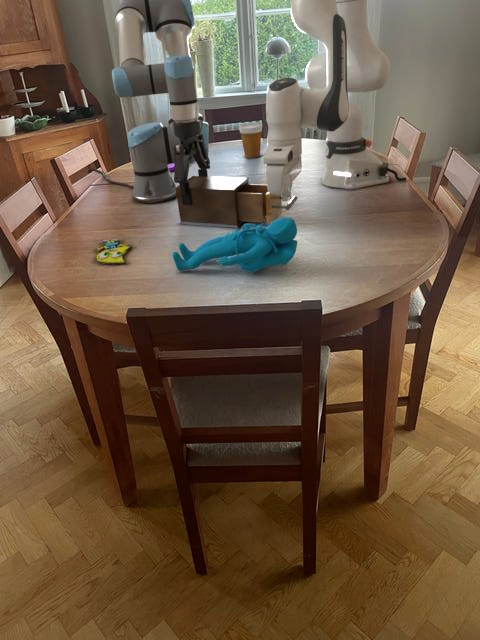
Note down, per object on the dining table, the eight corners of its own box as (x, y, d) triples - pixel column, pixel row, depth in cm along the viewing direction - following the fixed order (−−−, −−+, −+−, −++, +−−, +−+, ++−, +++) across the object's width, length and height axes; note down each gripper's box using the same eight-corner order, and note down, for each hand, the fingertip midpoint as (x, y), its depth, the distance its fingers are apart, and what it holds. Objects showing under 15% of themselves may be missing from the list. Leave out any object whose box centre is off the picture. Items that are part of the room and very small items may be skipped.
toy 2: (183, 229, 122) (297, 202, 112) (198, 266, 128) (308, 242, 117) (161, 259, 109) (288, 230, 99) (178, 298, 114) (301, 275, 104)
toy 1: (135, 237, 135) (125, 260, 122) (135, 240, 135) (125, 263, 123) (99, 239, 135) (85, 263, 122) (100, 242, 135) (86, 266, 123)
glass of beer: (264, 157, 198) (262, 127, 191) (241, 159, 198) (238, 129, 192) (263, 152, 206) (261, 122, 199) (241, 153, 206) (239, 124, 200)
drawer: (299, 213, 139) (298, 183, 134) (289, 227, 131) (288, 195, 127) (229, 209, 147) (226, 180, 142) (216, 222, 139) (212, 192, 134)
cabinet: (251, 213, 146) (248, 177, 140) (237, 227, 137) (233, 190, 131) (197, 210, 152) (192, 175, 146) (180, 224, 143) (175, 187, 137)
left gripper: (193, 111, 142) (202, 184, 153) (152, 129, 123) (166, 211, 135) (216, 111, 139) (223, 185, 151) (177, 129, 121) (189, 212, 133)
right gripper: (284, 137, 134) (286, 186, 142) (260, 159, 119) (263, 212, 127) (306, 138, 132) (307, 187, 140) (284, 159, 117) (286, 213, 125)
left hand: (196, 197), depth 143 cm, fingers closed on cabinet, 11 cm apart
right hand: (286, 199), depth 133 cm, fingers closed
